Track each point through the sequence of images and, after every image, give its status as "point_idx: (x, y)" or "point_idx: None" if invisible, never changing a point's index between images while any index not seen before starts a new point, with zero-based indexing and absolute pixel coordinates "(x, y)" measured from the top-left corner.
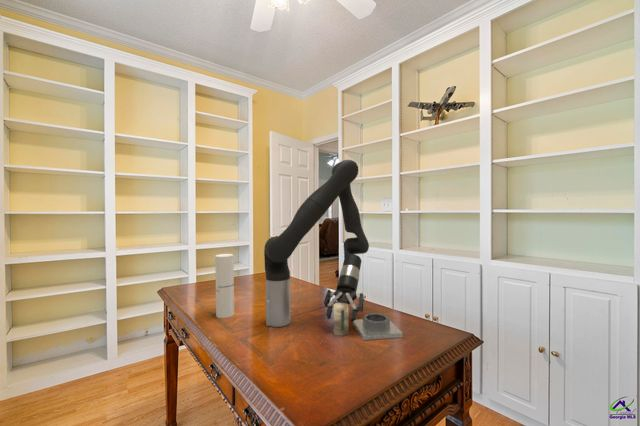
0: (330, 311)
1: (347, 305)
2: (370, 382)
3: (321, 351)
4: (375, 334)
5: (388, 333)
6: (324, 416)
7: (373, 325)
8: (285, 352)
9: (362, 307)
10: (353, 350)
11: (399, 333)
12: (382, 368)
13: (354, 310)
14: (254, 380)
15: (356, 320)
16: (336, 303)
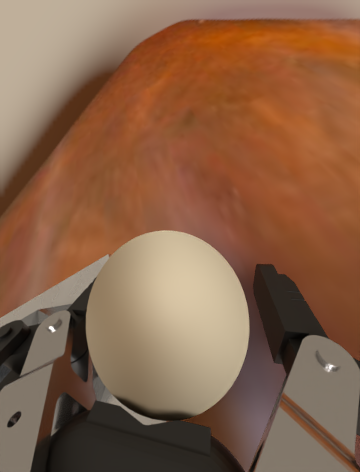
0: (268, 303)
1: (92, 311)
2: (98, 115)
3: (211, 154)
4: (72, 278)
5: (35, 300)
6: (146, 42)
7: (57, 311)
8: (306, 107)
9: (6, 379)
10: (136, 192)
11: (7, 314)
12: (79, 156)
13: (73, 313)
14: (290, 21)
15: (147, 422)
16: (226, 352)
